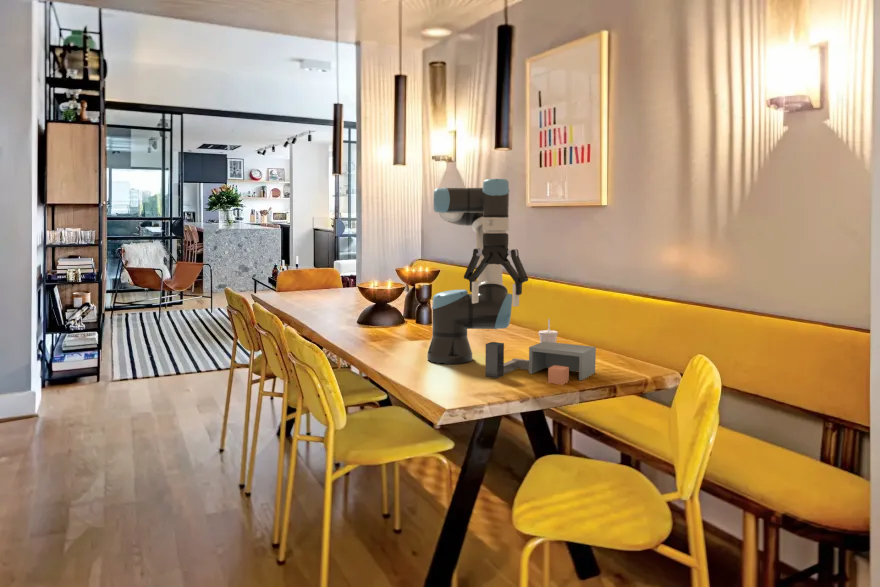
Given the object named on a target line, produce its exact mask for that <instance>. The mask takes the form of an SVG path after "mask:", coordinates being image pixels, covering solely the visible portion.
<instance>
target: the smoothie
mask: <svg viewBox="0 0 880 587" xmlns="http://www.w3.org/2000/svg"><path fill="white" fill-rule="evenodd" d="M547 319H548V320H547V329H546V330H545V329H544V330H543V329H542V330H539V331H538V335H539V343H541V342H554V343H557V336H559V334H558V333H559V332H558V331H556V330H551V328H550V327H551V320H550V318H547Z"/></svg>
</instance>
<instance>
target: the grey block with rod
mask: <svg viewBox="0 0 880 587" xmlns="http://www.w3.org/2000/svg"><path fill="white" fill-rule="evenodd" d="M504 353H505V343H504V342H497V341H495V342H494V341H491V342H488V343H487V342H486V343H485V376H484V377H485V378H489V377H490V378H491V379H497V380H498V379H500V378H501V377H504V375H506V374H508V373H511V372H513V371H516V370H518V369H519V368H520V369H521V370H526V371H529V359H524V358H517V357H514V358H512V359H511V360H509V361H506V362H505V360H504V359H505V357H504V356H505V354H504ZM517 368H518V369H517Z"/></svg>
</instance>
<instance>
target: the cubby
mask: <svg viewBox="0 0 880 587" xmlns="http://www.w3.org/2000/svg"><path fill="white" fill-rule="evenodd" d="M596 353H597V347H596V346H591V345H581V344H580V345H579V344H572V343H571V344H570V343H561V342H556V343H554V342H541V343H540V342H539V343H536V344H533V345H531V346H529V347H528V360H529V370H528V374H529V375H530V374H531V375H532V374H534V373H537V372H539V371H541V370H543V369H548V368H550V367H552V366H554V365H557V366H565V367H569V370H570V371H569V372H575V371H579V372H578V381H581V380H582V381H584V380H586V379H588V378H589V376H590V375H591V376H593V375H595V374H596V362H597V361H596V358H597V357H596V356H597V354H596ZM594 373H595V374H594ZM592 374H593V375H592ZM591 376H590V377H591ZM587 377H588V378H587ZM585 378H586V379H585ZM583 379H584V380H583Z"/></svg>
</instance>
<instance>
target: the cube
mask: <svg viewBox="0 0 880 587" xmlns="http://www.w3.org/2000/svg"><path fill="white" fill-rule="evenodd" d="M547 369H548V371H547V373H548V374H547V383H548V384H550V383H554V384H553V385H558V384H561V385H560V386H564V385H566V384H568V383H569V382H568V381H570V378H569V377H570V371H569V367H565V366H557V365H554V366H552V367H550V368H547ZM567 382H568V383H567ZM565 383H566V384H565ZM563 384H564V385H563Z"/></svg>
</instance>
